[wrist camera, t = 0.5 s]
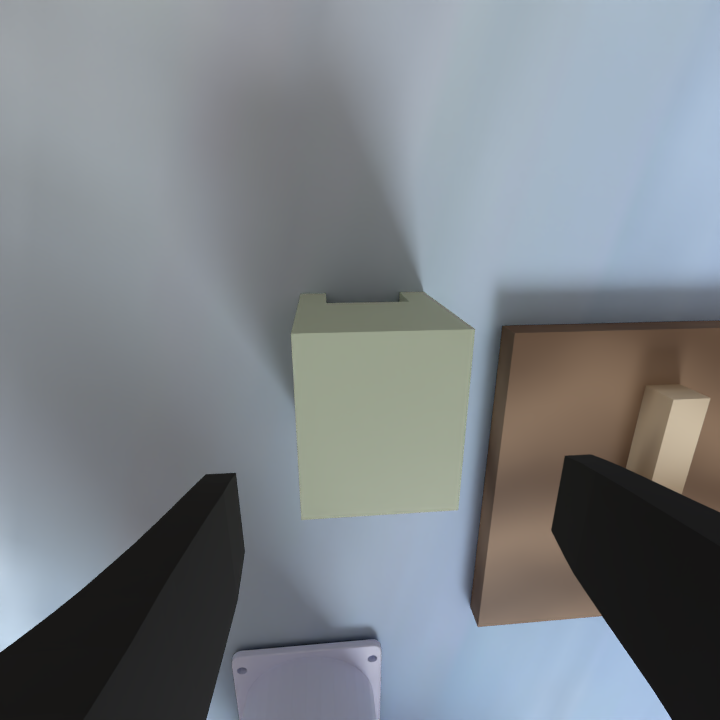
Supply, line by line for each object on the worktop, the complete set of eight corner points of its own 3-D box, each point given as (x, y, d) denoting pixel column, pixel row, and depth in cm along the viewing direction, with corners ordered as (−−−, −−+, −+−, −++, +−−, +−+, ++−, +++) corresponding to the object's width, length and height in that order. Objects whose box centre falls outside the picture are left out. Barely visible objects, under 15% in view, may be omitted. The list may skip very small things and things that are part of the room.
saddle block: (416, 422, 19) (458, 509, 13) (306, 427, 19) (301, 520, 13) (423, 291, 17) (475, 329, 11) (300, 293, 17) (291, 333, 11)
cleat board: (704, 587, 24) (749, 630, 22) (470, 606, 23) (488, 655, 21) (798, 318, 19) (872, 334, 16) (502, 325, 18) (532, 344, 15)
